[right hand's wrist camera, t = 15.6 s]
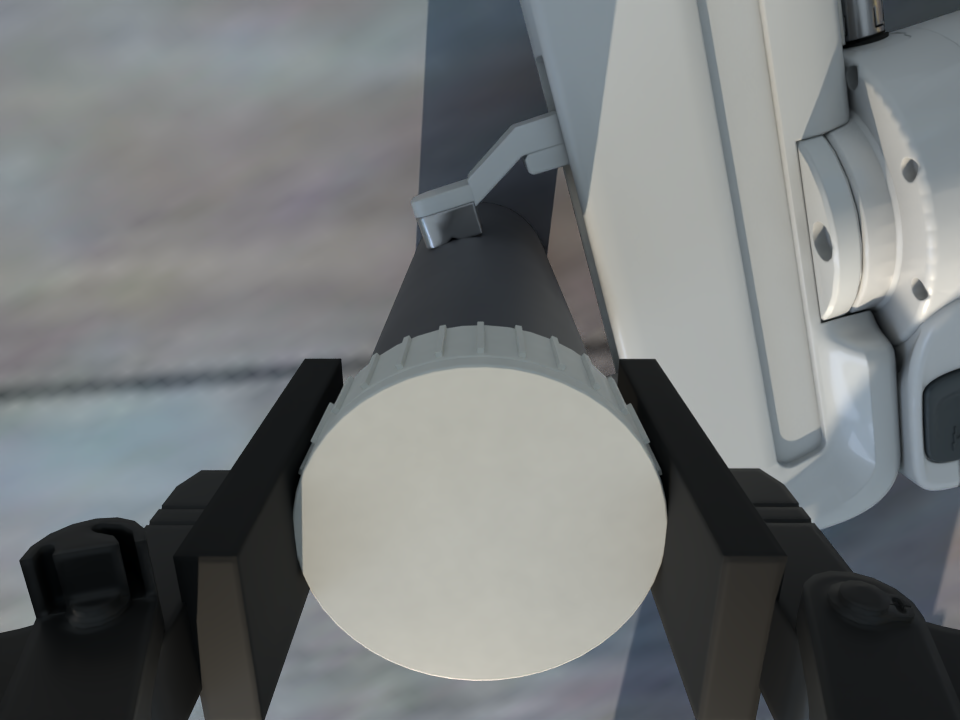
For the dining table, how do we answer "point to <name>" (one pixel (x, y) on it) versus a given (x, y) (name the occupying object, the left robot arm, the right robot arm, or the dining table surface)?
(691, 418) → the right robot arm
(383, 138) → the dining table surface
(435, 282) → the jar
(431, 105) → the dining table surface
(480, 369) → the lid
